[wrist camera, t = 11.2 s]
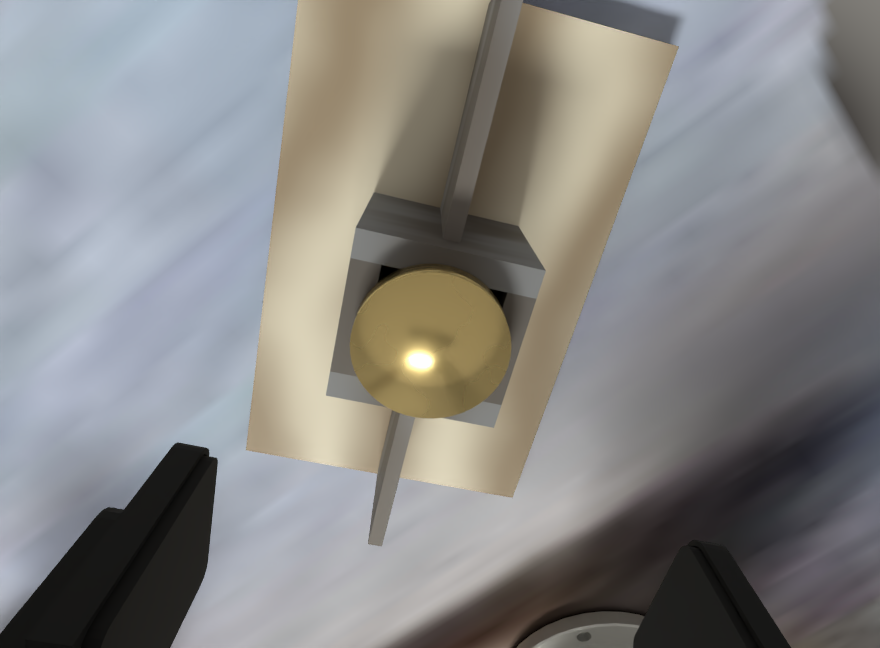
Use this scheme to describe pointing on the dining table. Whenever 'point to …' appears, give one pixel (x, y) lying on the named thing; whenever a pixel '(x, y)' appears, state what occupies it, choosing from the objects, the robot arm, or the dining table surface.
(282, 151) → the hinge base
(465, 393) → the round gold knob
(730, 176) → the dining table surface
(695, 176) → the dining table surface
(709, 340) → the dining table surface
